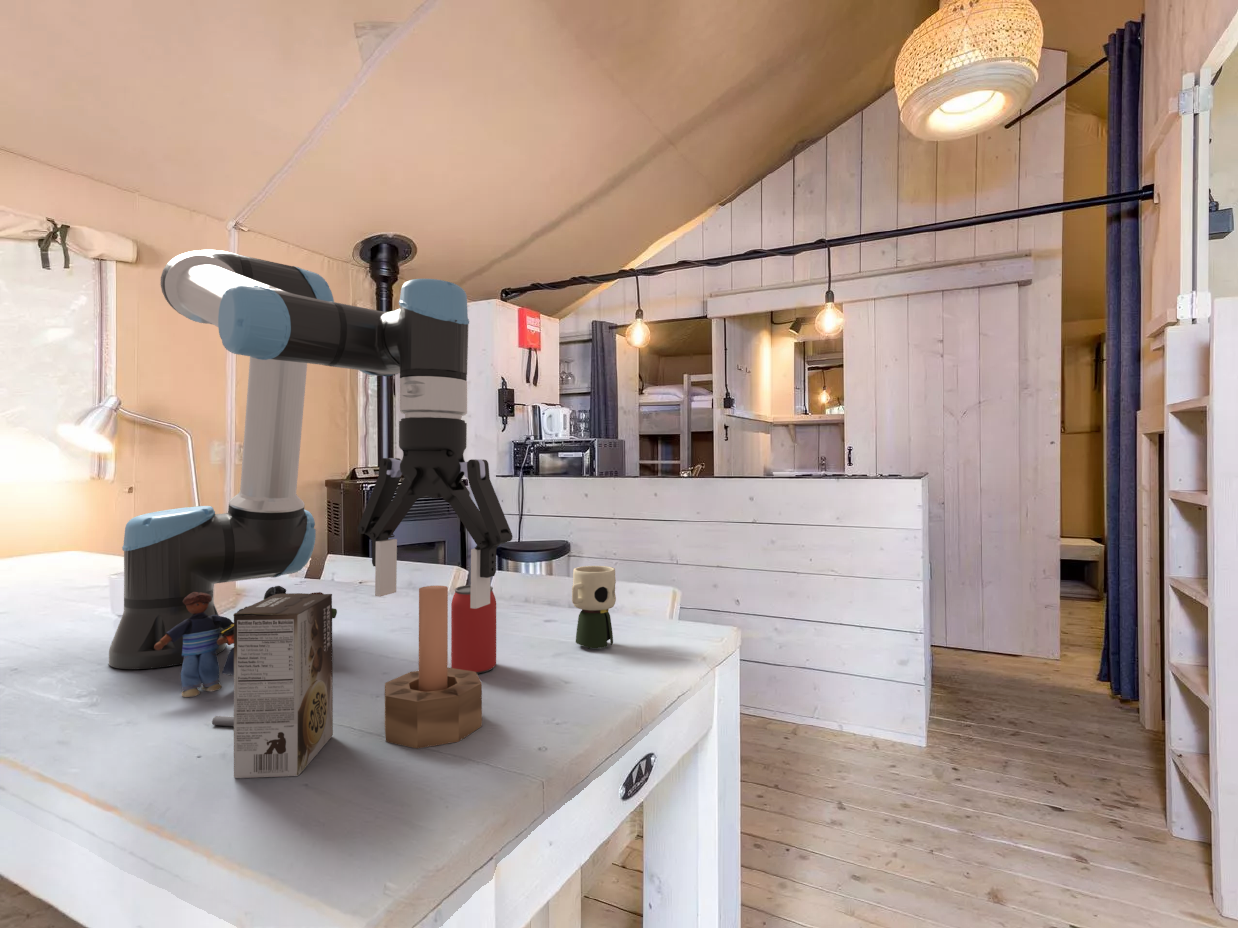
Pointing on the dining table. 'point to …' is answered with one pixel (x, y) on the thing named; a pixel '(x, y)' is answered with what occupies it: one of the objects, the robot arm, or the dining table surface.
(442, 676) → the peach rounded rod
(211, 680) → the doll family
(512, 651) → the dining table surface
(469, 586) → the beer can
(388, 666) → the dining table surface
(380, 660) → the dining table surface
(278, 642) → the coffee box
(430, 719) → the bead
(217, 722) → the grey thin rod
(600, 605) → the character mug
